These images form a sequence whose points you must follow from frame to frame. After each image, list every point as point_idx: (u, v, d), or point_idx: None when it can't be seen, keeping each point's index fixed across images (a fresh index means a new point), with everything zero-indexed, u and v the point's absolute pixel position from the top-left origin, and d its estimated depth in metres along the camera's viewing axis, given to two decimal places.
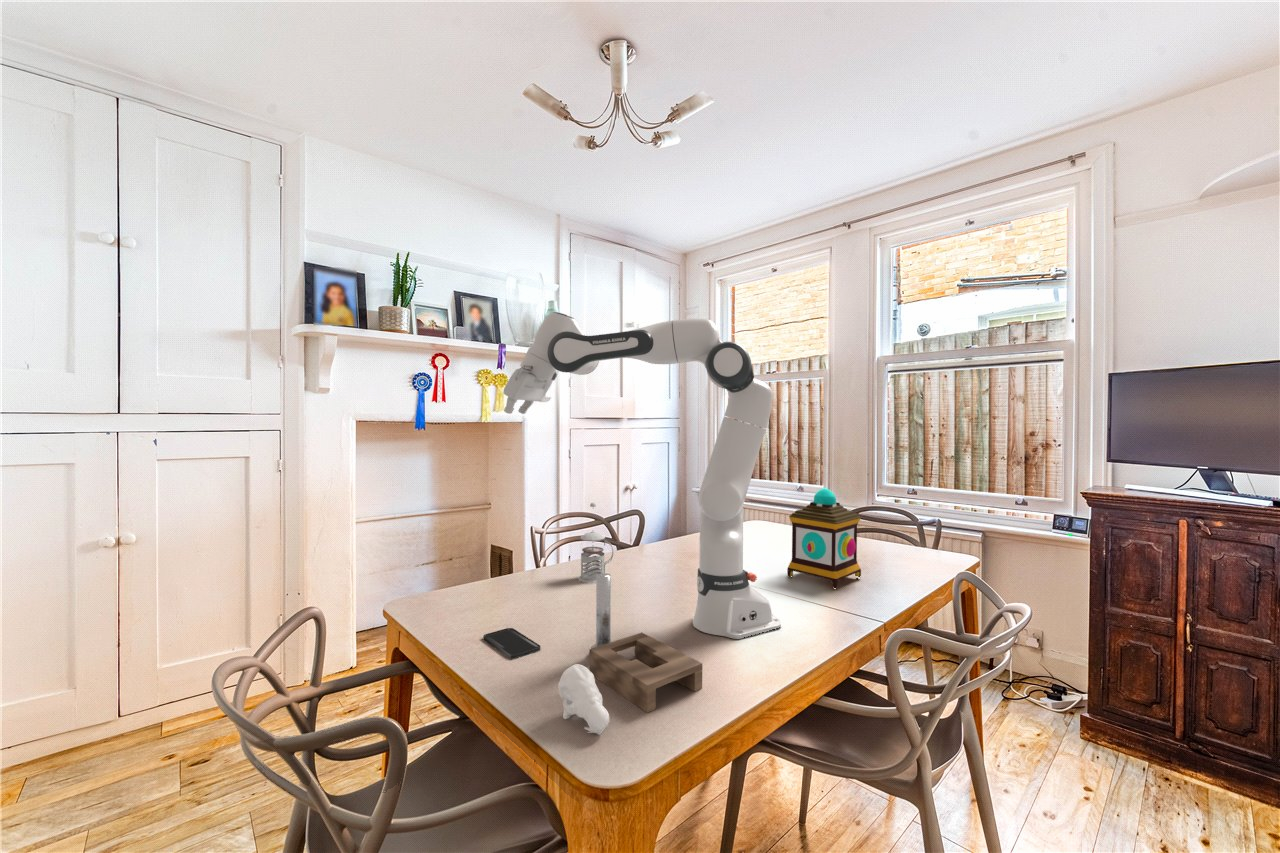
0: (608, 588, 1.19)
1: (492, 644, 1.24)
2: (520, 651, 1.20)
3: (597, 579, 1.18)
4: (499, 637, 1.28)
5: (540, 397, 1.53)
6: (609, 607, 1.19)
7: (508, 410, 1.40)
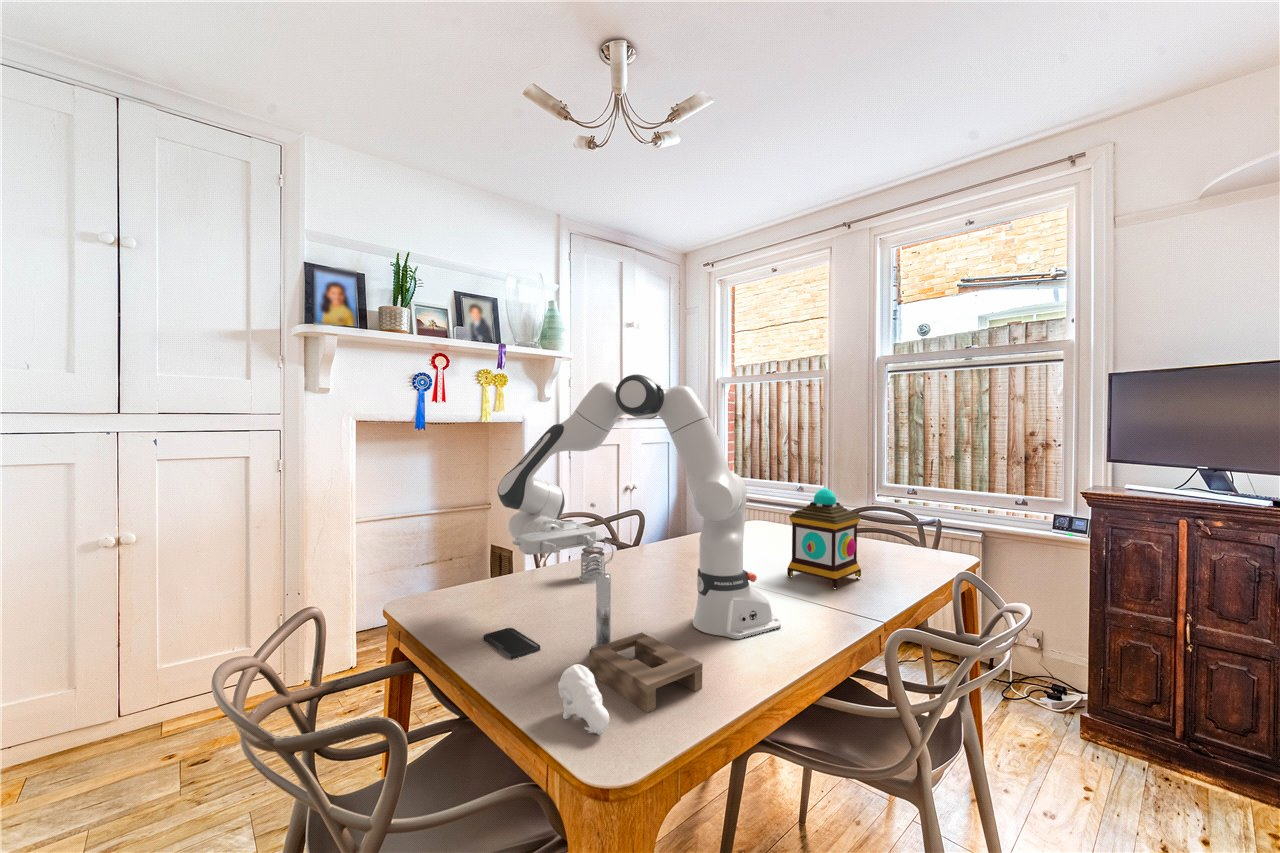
0: (608, 588, 1.19)
1: (492, 644, 1.24)
2: (520, 651, 1.20)
3: (597, 579, 1.18)
4: (499, 637, 1.28)
5: (587, 530, 1.38)
6: (609, 607, 1.19)
7: (553, 547, 1.26)
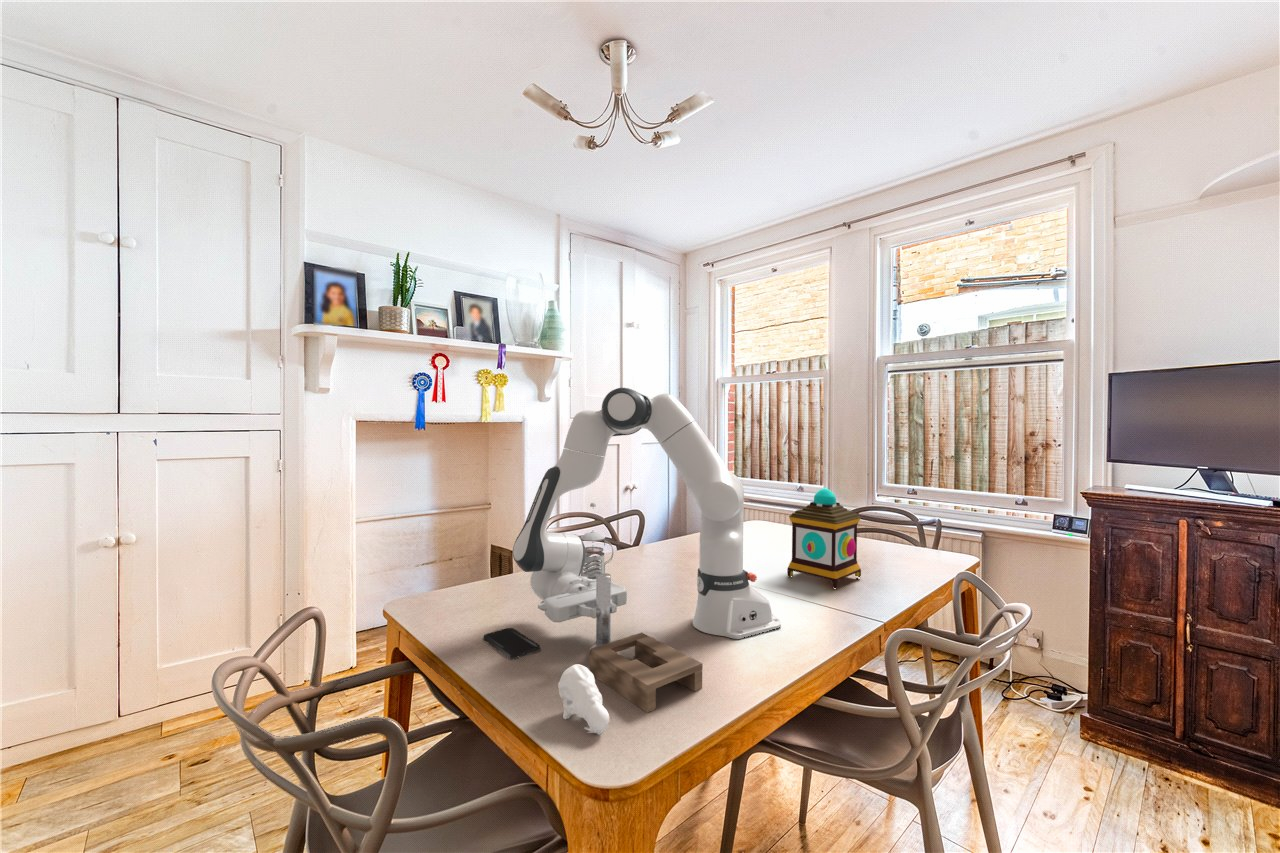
0: (608, 588, 1.19)
1: (492, 644, 1.24)
2: (520, 651, 1.20)
3: (597, 579, 1.18)
4: (499, 637, 1.28)
5: (617, 589, 1.29)
6: (609, 607, 1.19)
7: (592, 612, 1.18)
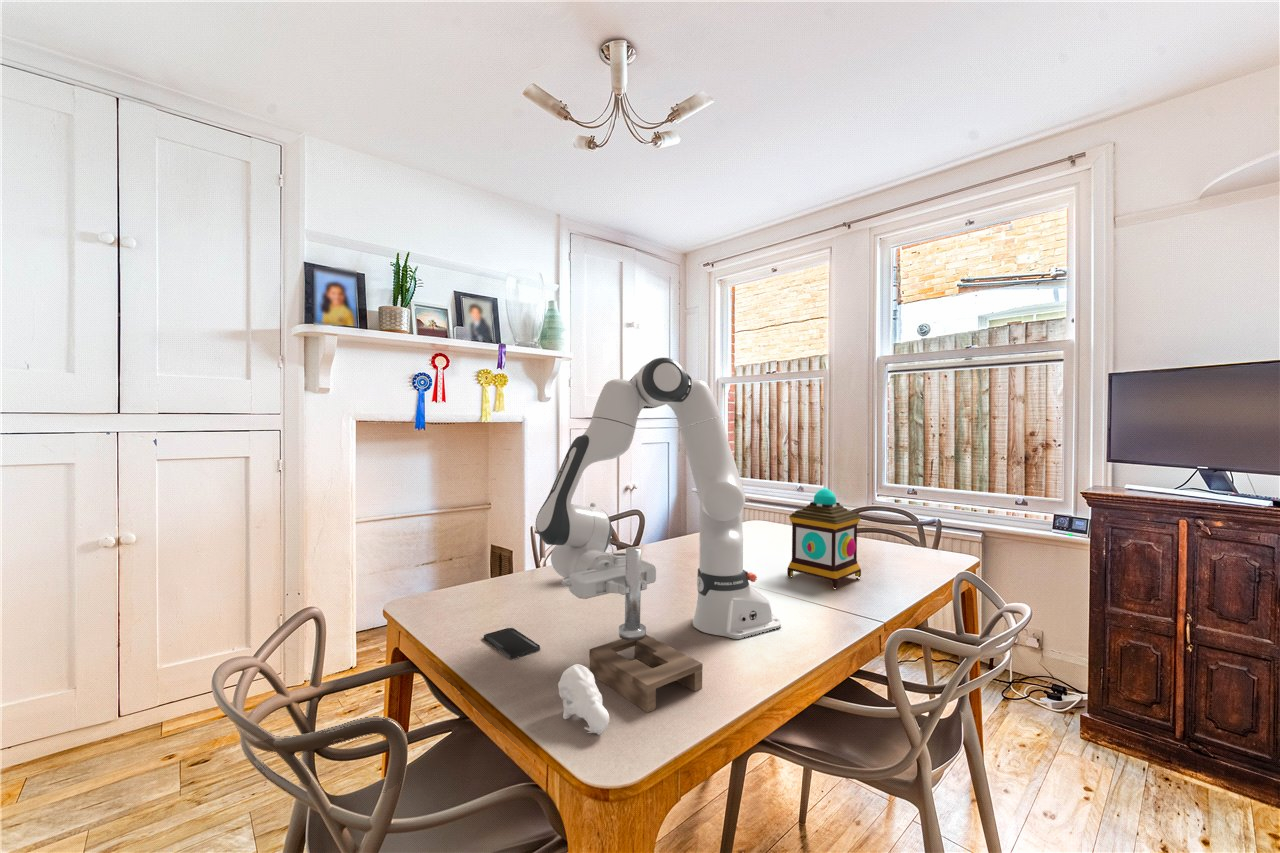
0: (639, 562, 1.10)
1: (492, 644, 1.24)
2: (520, 651, 1.20)
3: (627, 553, 1.10)
4: (499, 637, 1.28)
5: (646, 566, 1.20)
6: (639, 583, 1.10)
7: (621, 588, 1.09)
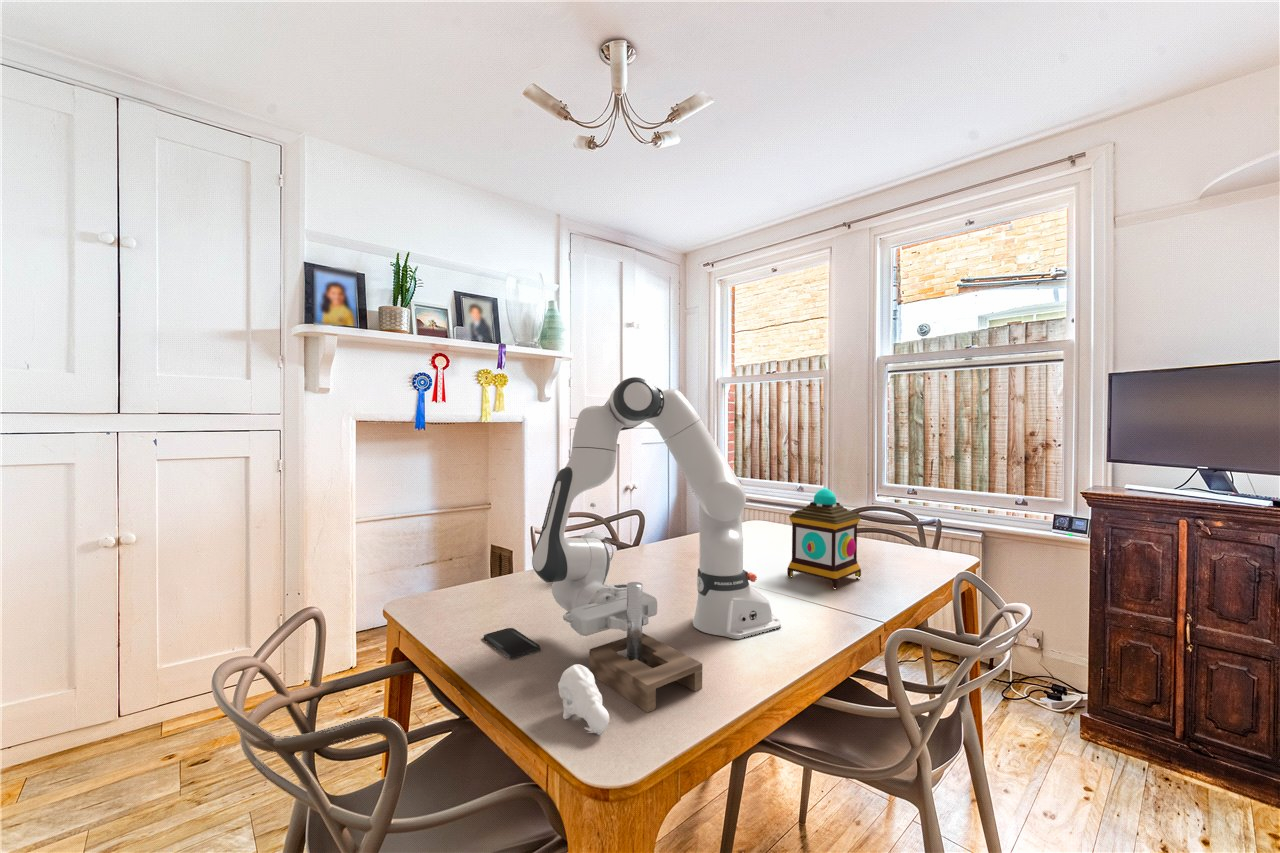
0: (640, 598, 1.10)
1: (492, 644, 1.24)
2: (519, 651, 1.20)
3: (628, 589, 1.10)
4: (499, 637, 1.28)
5: (647, 599, 1.20)
6: (640, 619, 1.10)
7: (623, 625, 1.09)
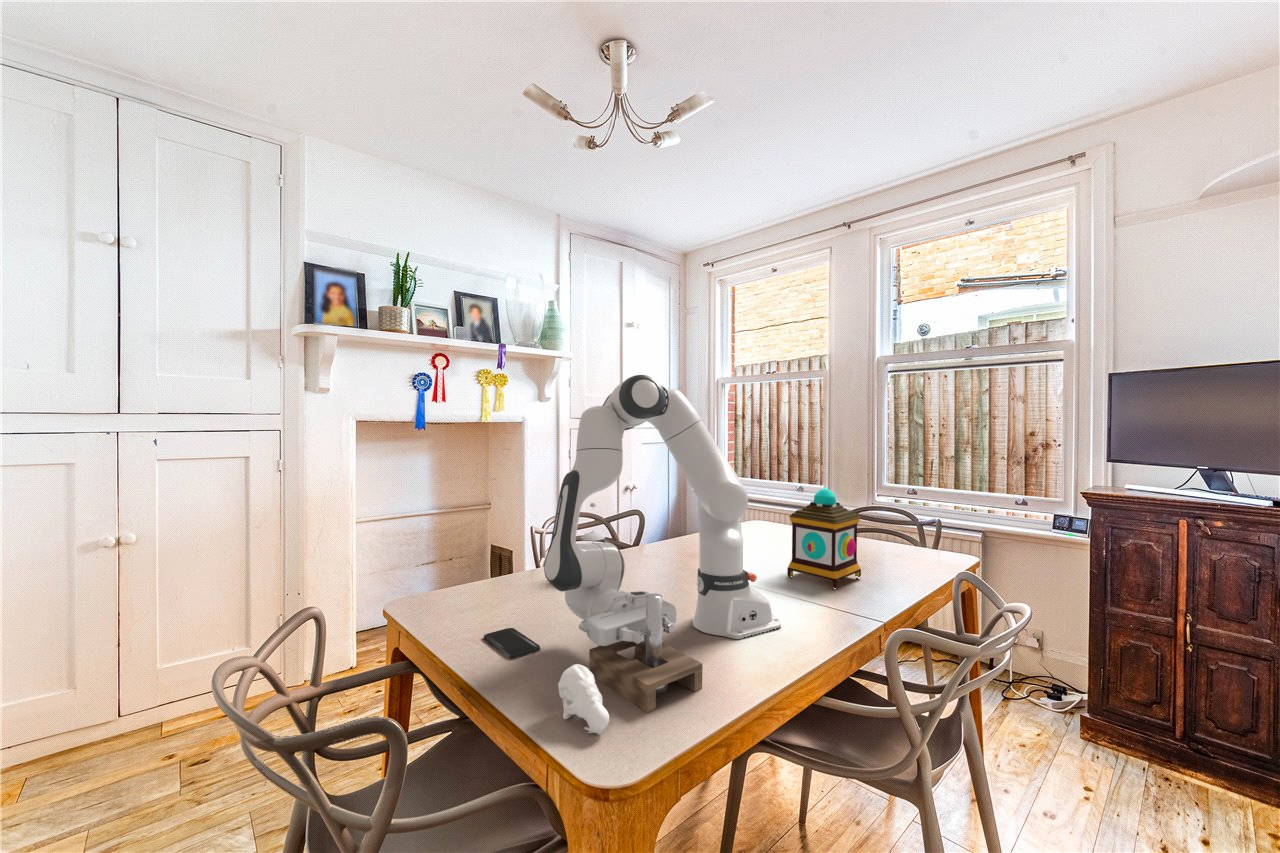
0: (660, 611, 1.05)
1: (492, 644, 1.24)
2: (519, 651, 1.20)
3: (648, 601, 1.05)
4: (499, 637, 1.28)
5: (666, 607, 1.15)
6: (660, 632, 1.05)
7: (635, 637, 1.03)
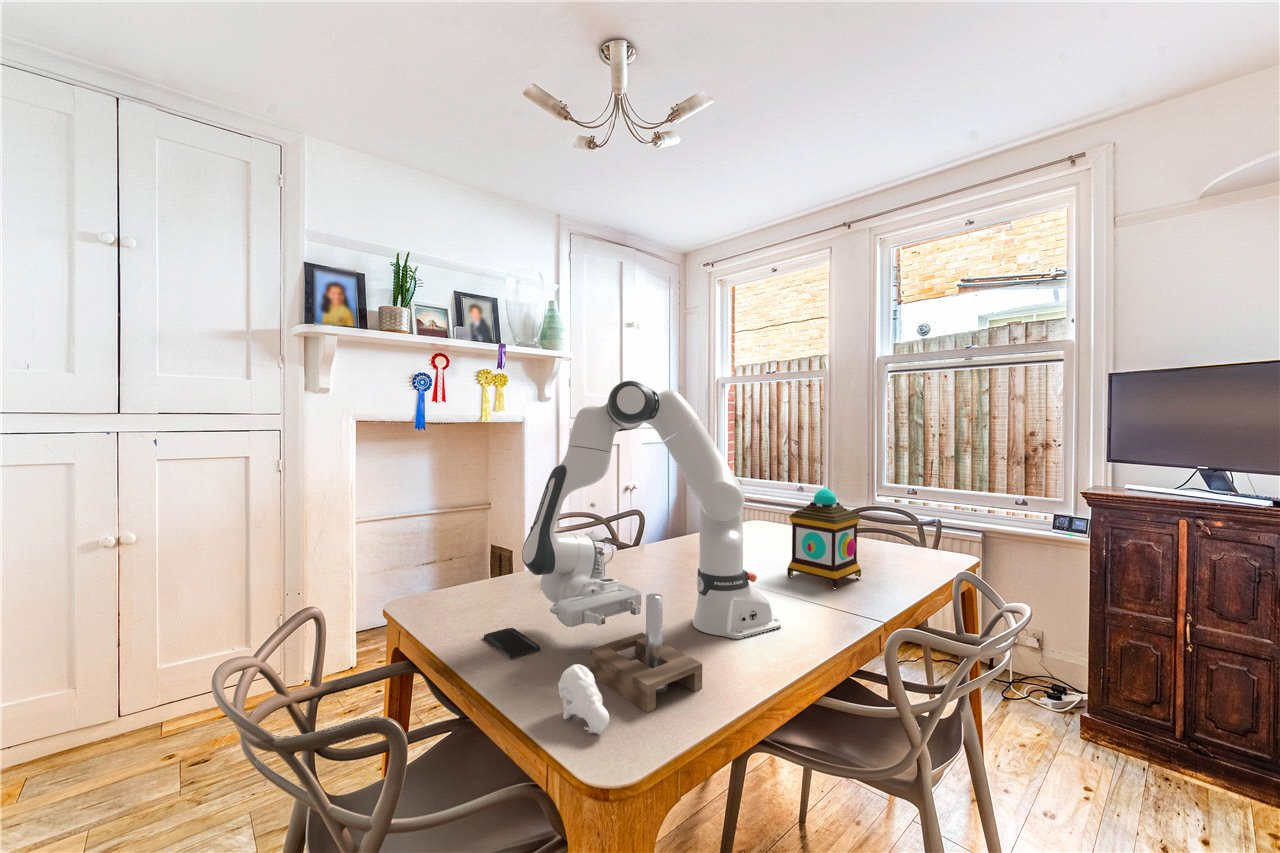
0: (660, 611, 1.05)
1: (492, 644, 1.24)
2: (519, 651, 1.20)
3: (648, 601, 1.05)
4: (500, 637, 1.28)
5: (632, 592, 1.24)
6: (660, 632, 1.05)
7: (597, 619, 1.12)
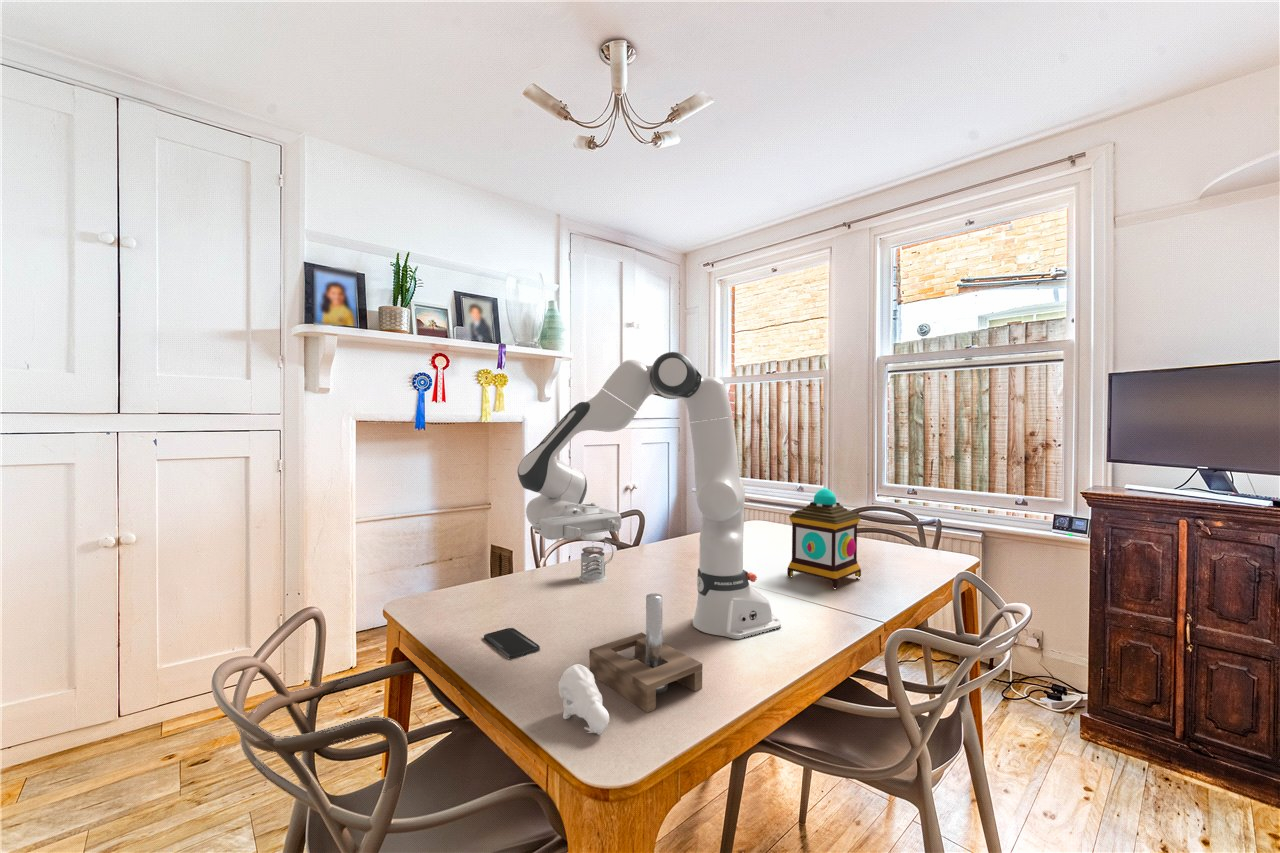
0: (660, 611, 1.05)
1: (492, 644, 1.24)
2: (519, 651, 1.20)
3: (648, 601, 1.05)
4: (500, 637, 1.28)
5: (612, 514, 1.29)
6: (660, 632, 1.05)
7: (577, 531, 1.17)
